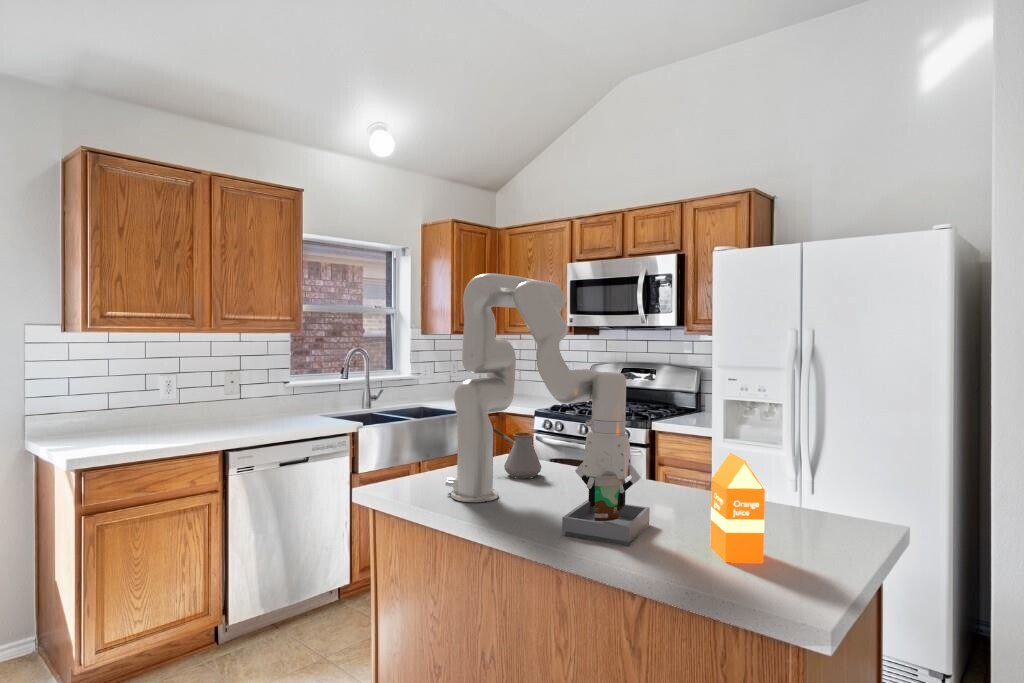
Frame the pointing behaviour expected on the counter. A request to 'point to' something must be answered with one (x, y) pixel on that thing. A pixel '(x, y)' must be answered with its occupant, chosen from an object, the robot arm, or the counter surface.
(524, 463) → the coffee pot
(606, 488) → the food container
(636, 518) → the grey bin
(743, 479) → the orange juice
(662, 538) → the counter surface
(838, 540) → the counter surface
